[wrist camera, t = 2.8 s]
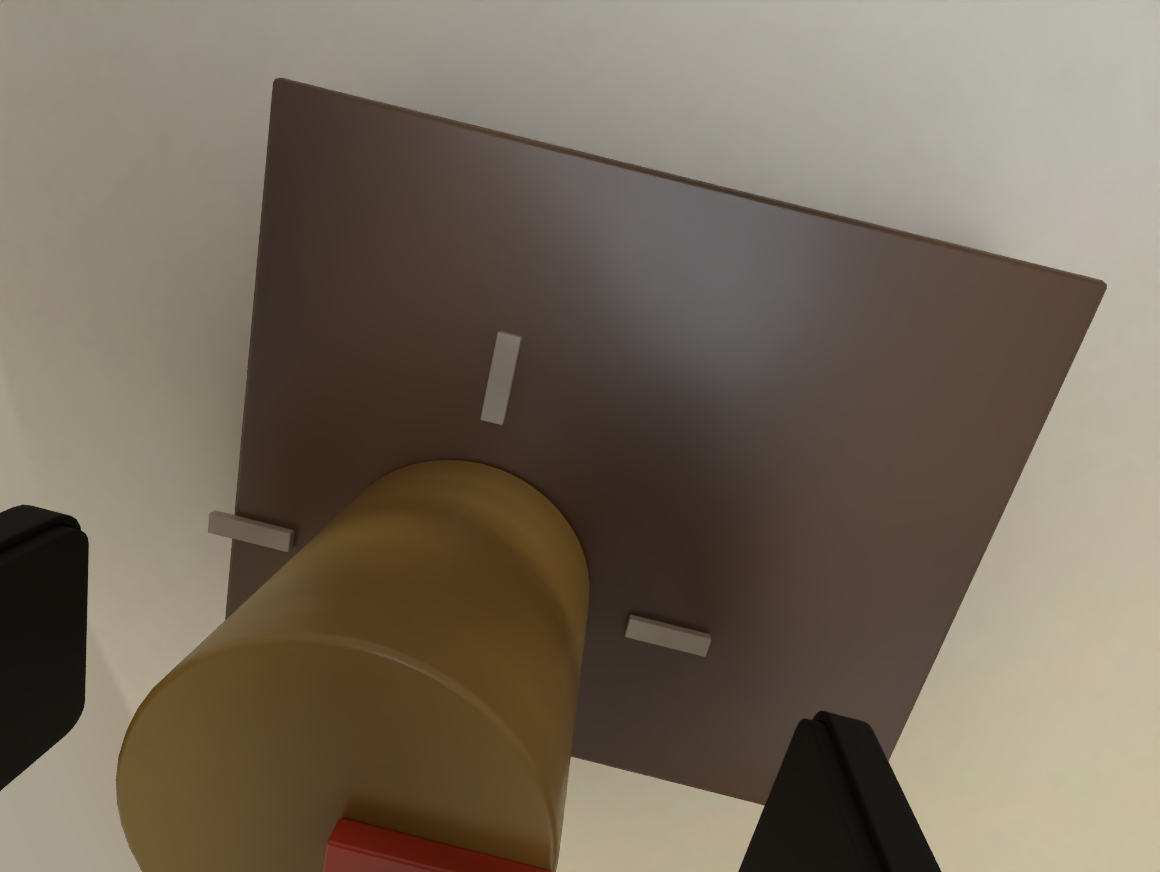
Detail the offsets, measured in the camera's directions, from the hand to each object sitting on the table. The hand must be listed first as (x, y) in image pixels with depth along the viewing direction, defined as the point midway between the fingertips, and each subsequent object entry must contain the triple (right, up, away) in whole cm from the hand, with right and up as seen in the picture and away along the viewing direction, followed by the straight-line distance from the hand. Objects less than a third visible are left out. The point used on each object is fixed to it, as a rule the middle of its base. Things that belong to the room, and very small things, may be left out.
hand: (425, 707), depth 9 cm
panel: (+3, +3, +5) cm, 6 cm away
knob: (0, +1, +3) cm, 3 cm away
